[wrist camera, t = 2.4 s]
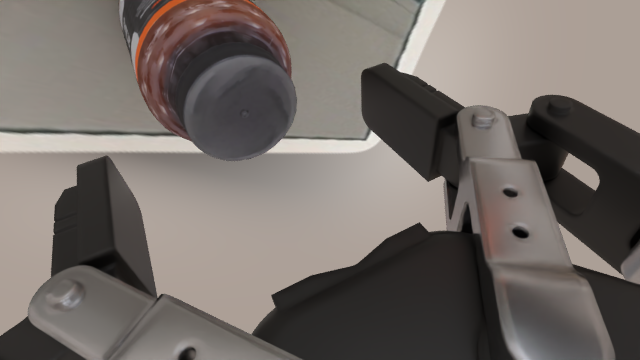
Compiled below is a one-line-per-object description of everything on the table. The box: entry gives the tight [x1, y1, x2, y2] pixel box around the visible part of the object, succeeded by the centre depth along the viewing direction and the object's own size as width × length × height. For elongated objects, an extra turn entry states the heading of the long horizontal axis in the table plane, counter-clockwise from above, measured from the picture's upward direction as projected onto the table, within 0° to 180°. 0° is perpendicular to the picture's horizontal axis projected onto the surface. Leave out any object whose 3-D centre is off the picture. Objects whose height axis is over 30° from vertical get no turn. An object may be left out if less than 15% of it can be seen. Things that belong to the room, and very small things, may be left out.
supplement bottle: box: [119, 0, 297, 161], centre depth 16 cm, size 6×6×11 cm
